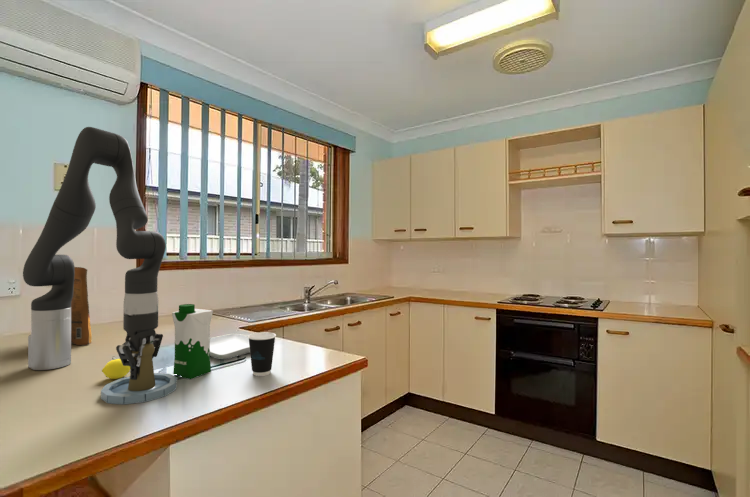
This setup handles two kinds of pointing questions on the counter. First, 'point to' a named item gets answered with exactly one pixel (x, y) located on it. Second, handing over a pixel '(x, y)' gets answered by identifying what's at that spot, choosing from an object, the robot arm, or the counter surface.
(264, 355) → the dixie cup
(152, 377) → the tan pawn shape
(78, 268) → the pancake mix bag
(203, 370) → the milk carton
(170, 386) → the round dish
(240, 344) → the salad plate
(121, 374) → the lemon
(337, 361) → the counter surface
